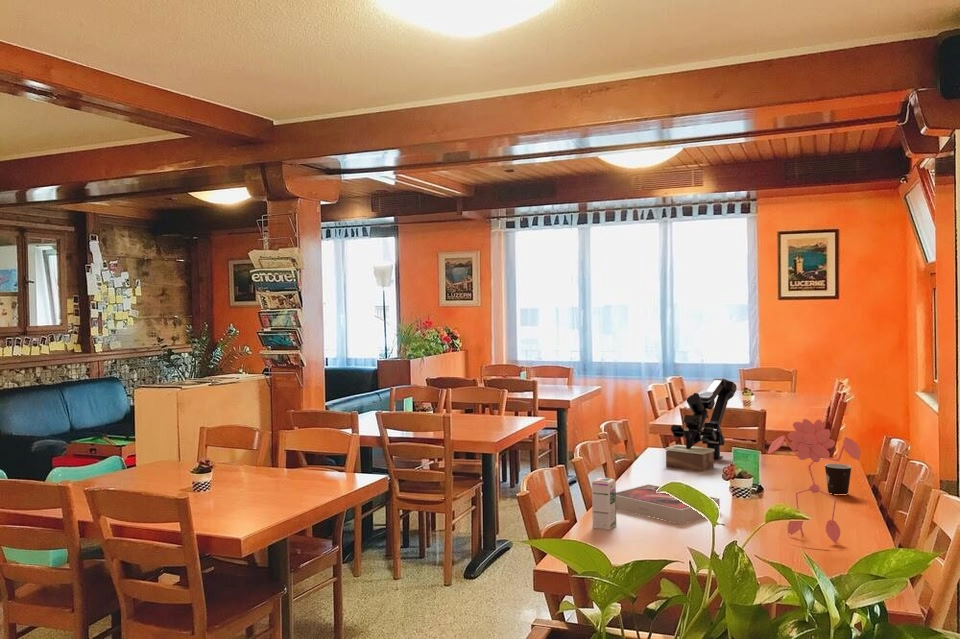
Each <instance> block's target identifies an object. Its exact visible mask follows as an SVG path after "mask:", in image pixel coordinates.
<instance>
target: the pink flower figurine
mask: <svg viewBox="0 0 960 639" xmlns="http://www.w3.org/2000/svg"><path fill="white" fill-rule="evenodd" d="M792 427H793V428H794V430H793V431H791V432H789V433H788V434H787V438H788V439H789V440H791V442H790V441H788V439H787V438H786V435H784V434H783V435H781V436H779V437H777V438H776V439H775V440H774V441H772V443H771V444H770V446H769V447H768V451H767V454H768V455H771V454H773V453H775V452H776V451H778V450H779V449H780V448H781V447H782V445H783V444H784V442H786V443H787V445H788V446H789V447H790V448H789V449H790V450H792V452H793V453H794V454H795V456H796V457H797V458H798V459H799V460H801V461H805V460H807V459H810V460H812V461H811V462H810V463H809V464H808V465H807V469H808V471H809V474H810V477H811V481H812V483H811V484H809V488H808V489H804V490H800V491H797V492H796V493H795V500H796V510H797V509H798V510H799V500H798V499H799V498H798V494H801V493H804V492H805V493H806V492H808V491H810V492H811V493H812V494H817V493H822V494H823V495H825V496H827V497H829V498H831V499H833V501H834V502H833V508H832V509H833V510H832V516H831V519H829V520H828V521H826V524H825V532H826V534H827V537H828V538H829V539H830V540H831V541H832V542H833V543H834V544H836V543H838V541H839V539H840V536H841V529H840V526H839V525H838V523H837V521H835V520H834V519H835V518H834V517H835V510H836V503H837V499H836V497H834V496H833V495H831V494H829V493H826V492H824V491H822V490H820V486H819V484H817V483H815V480H814V479H815V478H814V476H813V471H812V469H811V466H813V464H814V463H819V462H820V461H821V458H822V459H826V460H829V461H836V462H840V461H841V458H842V455H843V453H844V451H845V452H846V453H847V454H848V455H849V456H850V457H851V458H853V459H855V460H857V461H860V458H861V448H860V445H859V444H858V443H857V442H856V441H855V440H854V439H852V438H850V437H847V436H845V437H844V440H843V441H842V443H843V444H842V445H841V450H840V452H839V456H838V458H832V457H830V451H829V449H832V448H833V447H835V445H836V441H835V440H834V439H833V438H832V439H831V438H830V436H831V430H830V429H829V428H825V426H824V423H823V421H822V419H817V420H815V421H814V422H812V421H811V420H809V419H808V418H807V419H806V418H803V419H802V422H801V421H794V422H793V423H792ZM803 523H804V520H803V521H790V520H789V521H788V524H787V533H788V534H791V535H790V536H792V535H794V534H796V533H797V532H799V531H800V534H804V531H803ZM788 534H787V535H788ZM803 547H804V546H803ZM803 549H807V550H808V549H810V550H813V548H811V547H807V546H806V547H804V548H803ZM815 550H817V551H818V550H819V551H822V549H820V548H819V549H818V548H815ZM824 551H825V552H829V549H824Z"/></svg>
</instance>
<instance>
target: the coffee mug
mask: <svg viewBox="0 0 960 639" xmlns="http://www.w3.org/2000/svg"><path fill="white" fill-rule="evenodd" d="M824 468H825V478H826V479H825V480H826V485H827V492H829V493H832V494H847V493H848V494H849V489H850V482H851V481H850V480H851V473H852V466H851V465H848V464H842V463H826V464H824ZM829 493H828V494H829Z"/></svg>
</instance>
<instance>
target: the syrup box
mask: <svg viewBox="0 0 960 639" xmlns="http://www.w3.org/2000/svg"><path fill="white" fill-rule="evenodd" d="M616 486H617V484H616V479H615V478H611V477H597V478H595V480H592V481H591V503H592V504H591V507H592V528H594V529H598V530H606V531H611V530H612V529H613V528H615V527H616V526H617V509H616V492H617V491H616V490H617V489H616Z"/></svg>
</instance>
